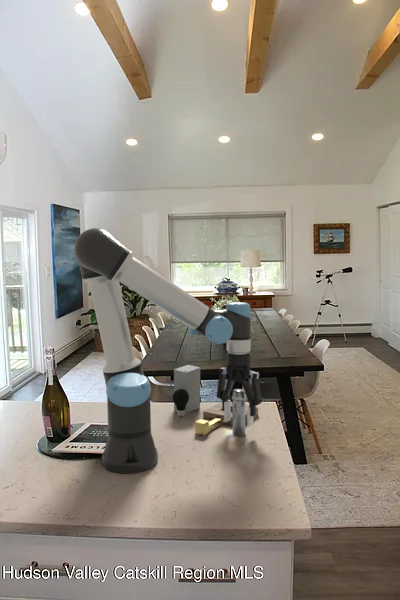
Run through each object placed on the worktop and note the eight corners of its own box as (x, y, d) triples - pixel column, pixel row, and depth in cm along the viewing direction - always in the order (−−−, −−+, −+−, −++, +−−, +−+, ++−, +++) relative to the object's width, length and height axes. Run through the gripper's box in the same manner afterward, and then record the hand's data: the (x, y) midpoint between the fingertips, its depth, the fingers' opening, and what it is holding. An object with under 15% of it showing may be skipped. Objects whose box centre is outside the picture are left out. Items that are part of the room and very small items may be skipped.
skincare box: (187, 404, 181) (187, 364, 180) (202, 408, 177) (201, 366, 175) (172, 410, 175) (171, 368, 173) (187, 414, 170) (186, 371, 169)
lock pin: (203, 435, 149) (203, 423, 149) (195, 433, 151) (195, 421, 151) (223, 424, 159) (223, 413, 159) (215, 422, 161) (215, 411, 161)
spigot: (241, 437, 148) (241, 393, 146) (228, 434, 150) (228, 391, 149) (248, 433, 151) (248, 390, 150) (236, 430, 154) (236, 388, 153)
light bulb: (179, 413, 171) (179, 386, 171) (192, 416, 168) (192, 388, 167) (169, 417, 167) (168, 389, 166) (182, 421, 163) (182, 392, 162)
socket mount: (238, 427, 157) (238, 418, 156) (203, 419, 164) (203, 411, 164) (258, 415, 168) (258, 407, 168) (224, 408, 176) (224, 400, 176)
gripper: (273, 353, 146) (273, 425, 148) (217, 346, 157) (217, 414, 159) (262, 357, 140) (262, 433, 142) (204, 350, 151) (205, 420, 153)
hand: (238, 423), depth 151 cm, fingers open, 8 cm apart
